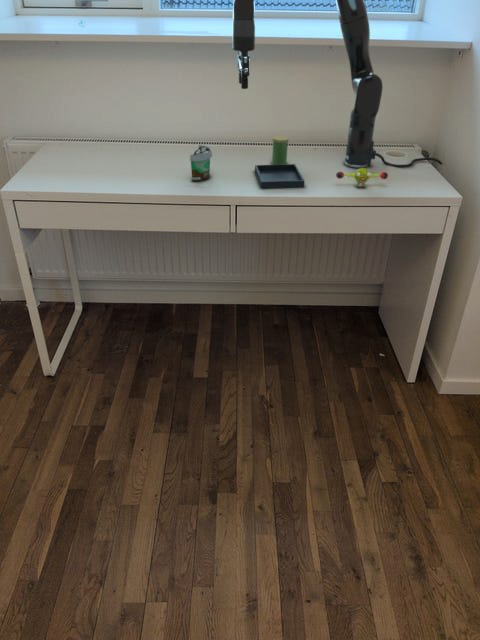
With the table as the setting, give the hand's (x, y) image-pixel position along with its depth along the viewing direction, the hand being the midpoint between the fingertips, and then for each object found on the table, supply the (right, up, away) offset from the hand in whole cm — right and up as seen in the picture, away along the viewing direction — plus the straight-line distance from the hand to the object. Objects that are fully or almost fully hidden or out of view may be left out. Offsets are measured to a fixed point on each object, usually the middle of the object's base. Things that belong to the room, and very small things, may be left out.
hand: (243, 86), depth 189 cm
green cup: (+14, -21, +21) cm, 33 cm away
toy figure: (+42, -35, +2) cm, 54 cm away
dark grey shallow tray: (+13, -31, +7) cm, 34 cm away
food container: (-14, -30, +7) cm, 34 cm away
